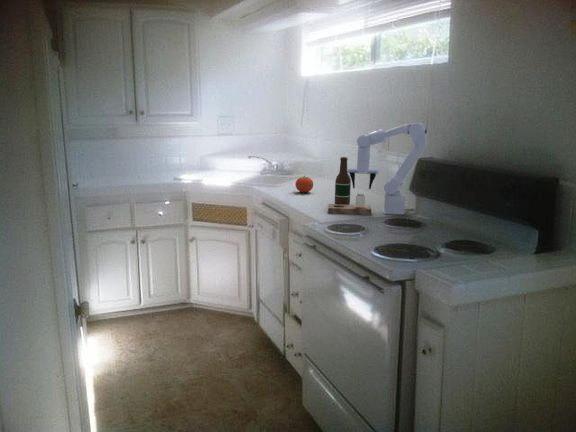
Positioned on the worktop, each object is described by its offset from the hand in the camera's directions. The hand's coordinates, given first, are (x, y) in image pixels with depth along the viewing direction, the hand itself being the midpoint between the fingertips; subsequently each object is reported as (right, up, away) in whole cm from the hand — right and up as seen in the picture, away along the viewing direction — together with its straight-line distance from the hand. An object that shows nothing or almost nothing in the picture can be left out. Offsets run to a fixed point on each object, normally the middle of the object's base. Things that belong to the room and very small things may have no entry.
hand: (361, 188), depth 251 cm
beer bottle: (-8, -8, +15) cm, 18 cm away
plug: (-1, -9, -4) cm, 10 cm away
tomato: (-26, 0, +47) cm, 54 cm away
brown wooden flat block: (-6, -11, -3) cm, 13 cm away
